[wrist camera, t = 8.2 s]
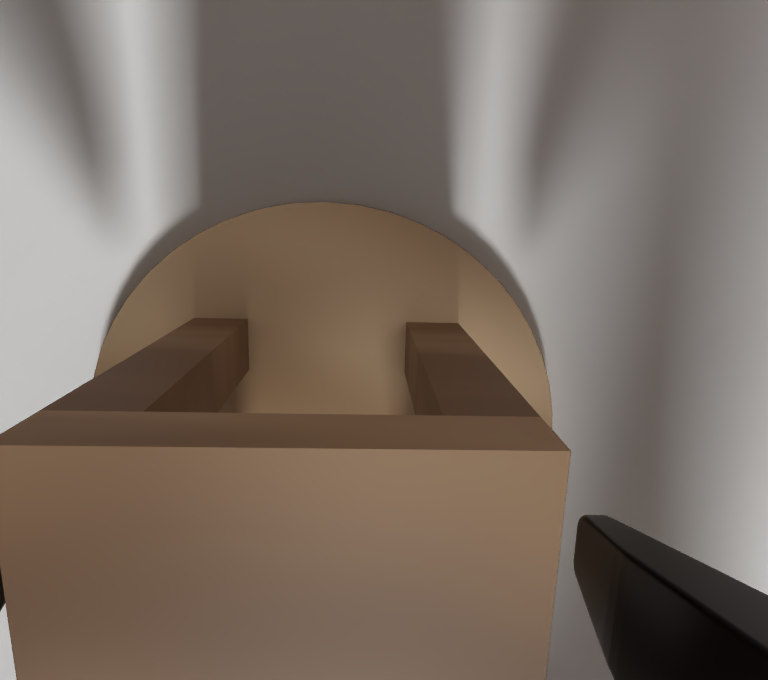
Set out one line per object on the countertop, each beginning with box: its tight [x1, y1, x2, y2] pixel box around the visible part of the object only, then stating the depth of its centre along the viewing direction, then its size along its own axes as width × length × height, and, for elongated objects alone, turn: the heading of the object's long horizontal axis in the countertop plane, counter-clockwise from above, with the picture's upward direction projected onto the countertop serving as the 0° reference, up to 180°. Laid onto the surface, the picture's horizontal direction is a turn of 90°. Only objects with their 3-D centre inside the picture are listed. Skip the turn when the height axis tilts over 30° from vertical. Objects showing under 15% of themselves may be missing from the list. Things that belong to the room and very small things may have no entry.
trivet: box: [94, 202, 552, 429], centre depth 13 cm, size 11×11×1 cm
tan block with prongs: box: [0, 318, 571, 680], centre depth 10 cm, size 6×6×7 cm
